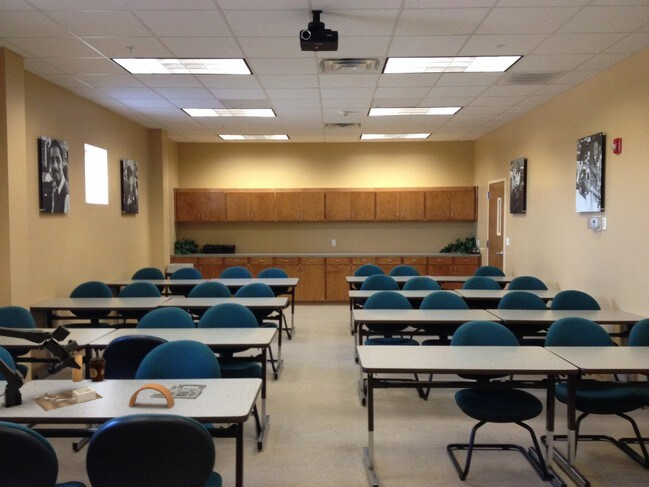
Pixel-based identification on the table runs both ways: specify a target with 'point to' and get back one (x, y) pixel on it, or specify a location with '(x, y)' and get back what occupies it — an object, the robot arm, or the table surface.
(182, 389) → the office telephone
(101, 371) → the coffee cup
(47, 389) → the table surface
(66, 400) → the cable board
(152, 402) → the table surface
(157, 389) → the arch
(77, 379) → the tan cylinder
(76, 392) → the end holder
